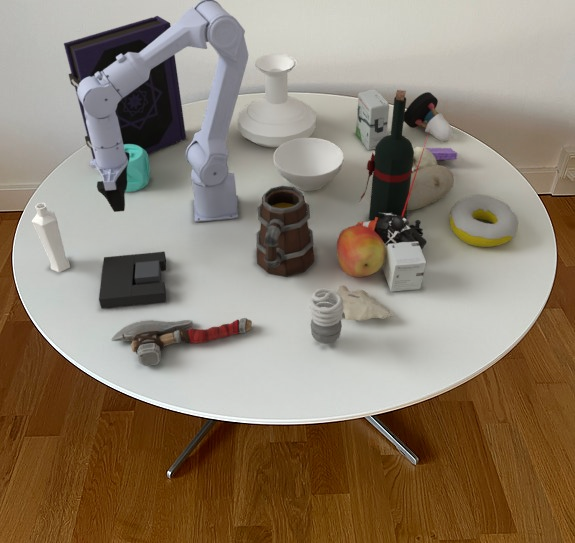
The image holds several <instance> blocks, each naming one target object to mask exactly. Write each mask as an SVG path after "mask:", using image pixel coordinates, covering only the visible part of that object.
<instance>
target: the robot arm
mask: <svg viewBox="0 0 575 543" xmlns="http://www.w3.org/2000/svg"><path fill="white" fill-rule="evenodd" d="M245 33H246V30H245V28H244V27H243V26H242V24H240V21H238V19H237V18H236V17H234V15H231V14H230V13H229V12H228V11H227V10H226V9H225V8H223V6H222V5H221V4H220V3H219V2H218V1H217V0H199V1H198V2H197V3H195V5H194V6H191V7H190V8H188V9H186V10H185V11H184V12H183V14H182V15H181V16H180V18H178V20H177V21H176V22H174V23H173V24H172V25H171V27H170V28H169V29H167V30H166V31H165V32H164V33H163V34H161V35H160V36H159V37H158V38H156V39H155V40H154V41H153V42H152V43H150V44H149V45H148V46H147V47H146V48H144V49H143V50H142V51H141V52H139V53H132V52H128V53H126V54H125V55H122V54H119V55H118V56H117V57H116V59H117V61H115V62H114V63H112V64H111V65H110V66H108V67H107V68H105V69H104V70H103V71H101V72H99V71H98V72H97V73H95V74H94V75H95V76H93V77H90V76H89V77H86V78H84V79H83V80H82V81H81V82H80V83H79V87H78V89H77V92H76V91H75V94H76V98H77V100H78V99H79V100H80V101H81V103H82V105H83V107H84V111H85V112H84V114H85V118H86V124H87V128H88V132H89V136H90V140H91V144H92V147H93V151H94V155H95V159H93V158H92V159H91V160H90V162H89V165H90V168H93V169H94V168H96V169H97V171H98V173H99V175H100V177H101V178H102V180H100V181H99V180H98V181H97V182H96V189H97V191H98V193H100V194H101V195H102V196H103V197H104V198H105V199H106V201H107V203H108V204H109V206H110V207H111V210H112V211H113V213H119V212H124V211H125V210H126V195H125V193H126V192H125V190H126V188H127V166H128V162H129V159H130V154H129V153H128V152H125V150H124V145H123V140H122V136H121V131H120V127H119V122H118V117H117V115H116V112H115V110H116V108H117V104H118V102H119V101H121V99H122V98H124V97H125V96H126V95H128V94H129V93H131V92H132V91H133V90H135V89H136V88H137V87H139V86H140V85H142V84H143V83H144V82H146V81H147V80H148V79H149V74H150V70H151V69H152V68H154V67H155V66H157V65H159V64H160V63H162V62H163V61H165V60H167V59H168V58H170V57H171V56H173V55H174V54H175V55H176V54H178V53H179V52H181V51H183V50H184V49H186V48H187V47H189V48H195V49H196V48H197V49H201V50H207V49H208V45H207V43H209V45H210V46H211V47H212V48H213V50H214V51H215V52H216V54H217V56H218V59H217V63H216V68H215V72H214V75H213V78H212V83H211V87H210V91H209V96H208V99H207V103H206V108H205V111H204V115H203V119H202V124H201V127H200V130H199V131H197V132H195V133H194V134H193V138H192V140H191V142H190V143H189V144H188V146H187V148H186V149H185V159H186V161H187V163H189V164H190V165H191V167H192V168H191V173H190V174H191V175H190V178H191V185H192V190H193V191H192V192H193V198H194V199H193V217H194V222H195V223H201V222H202V223H203V222H213V221H224V220H235V219H238V218H239V210H238V204H239V196H238V195H237V187H236V177H235V172H229V166H228V159H229V157H230V156H229V150H228V145H227V137H228V133H229V130H230V127H231V123H232V119H233V116H234V112H235V108H236V104H237V100H238V97H239V94H240V89H241V87H242V83H243V79H244V76H245V71H246V68H247V64H248V60H249V51H248V50H249V49H248V46H247V42H246V38H245Z"/></svg>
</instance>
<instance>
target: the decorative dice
mask: <svg viewBox="0 0 575 543" xmlns="http://www.w3.org/2000/svg"><path fill="white" fill-rule="evenodd" d="M124 150H125V152H128V153H129V154H130V159H129V162H128V166H127V188H126V190H125V193H132V192H137V191H141V190H142V189H144V188H145V187H146V186H148V184H149V183H150V178H151V177H150V176H151V169H150V168H151V167H150V158H149V154H147V152H146V151H145V150H144V149H143V148H141V147H139V146H137V145H134V144H124Z"/></svg>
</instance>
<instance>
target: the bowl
mask: <svg viewBox="0 0 575 543" xmlns="http://www.w3.org/2000/svg"><path fill="white" fill-rule="evenodd" d="M344 161H345V155H344V151H343V150H342V148H341V147H340V146H338V145H337V144H336V143H333V142H332V141H330V140H326V139H323V138H318V137H308V138H299V139H294V140H291V141H288V142H286V143H284V144H282V145H281V146H279V147H278V148H276V149H275V151H274V153H273V163H274V166H275V168H276V170H277V172H278V173H279V174H280V176H282V177H283V178H284V179H285V180H286V181H287V182H289V183H290V184H291V185H293V187H295V188H296V189H298V190H299V191H303V192H313V191H318V190H320V189H321V188H323V186H325V185H326V184H327V183H328V182H329V181H332V180H333V179H334V178H335V177H336V176H337V175H338V174H339V172H340V171H341V169H342V167H343V165H344Z"/></svg>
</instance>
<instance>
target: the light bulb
mask: <svg viewBox="0 0 575 543" xmlns="http://www.w3.org/2000/svg"><path fill="white" fill-rule="evenodd" d="M331 303H332V304H331ZM333 304H334V305H333ZM309 309H310V311H309V313H310V317H311V320H310V331H311V332H310V333H311V336H312V338H313V339H314V340H315V342H318V343H319V344H322V345H330V344H332V343H335V342H336V341H337V340H338V339H339V338H340V336H341V332H342V318H343V315H344V313H343V310H344V306H343V299H342V297H341V296H340V294H339V293H337V291H335V290H334V289H331V288H318V289H316V290H315V291H314V292H313V293H312V295H311V299H310V305H309Z"/></svg>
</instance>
